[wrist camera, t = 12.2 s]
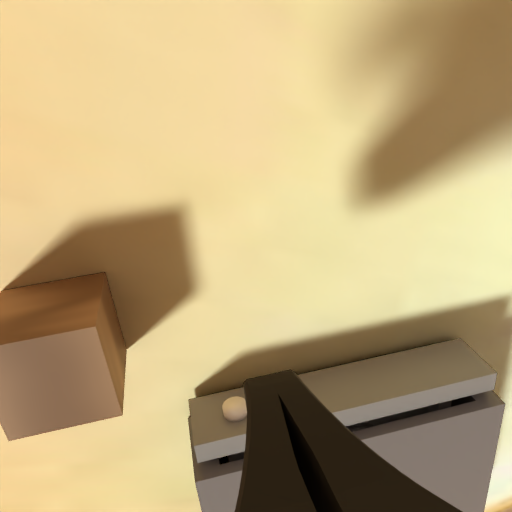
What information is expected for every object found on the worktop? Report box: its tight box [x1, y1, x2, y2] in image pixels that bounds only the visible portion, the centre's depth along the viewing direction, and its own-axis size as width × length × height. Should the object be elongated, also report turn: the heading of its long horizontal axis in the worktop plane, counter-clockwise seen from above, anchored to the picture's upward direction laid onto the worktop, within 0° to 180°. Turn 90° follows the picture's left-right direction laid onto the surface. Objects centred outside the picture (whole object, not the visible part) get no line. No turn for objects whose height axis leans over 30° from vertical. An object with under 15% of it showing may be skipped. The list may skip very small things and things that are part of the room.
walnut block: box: [0, 272, 127, 441], centre depth 15 cm, size 4×4×4 cm
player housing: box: [188, 390, 505, 512], centre depth 22 cm, size 13×11×3 cm
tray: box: [189, 338, 497, 463], centre depth 21 cm, size 13×11×2 cm
